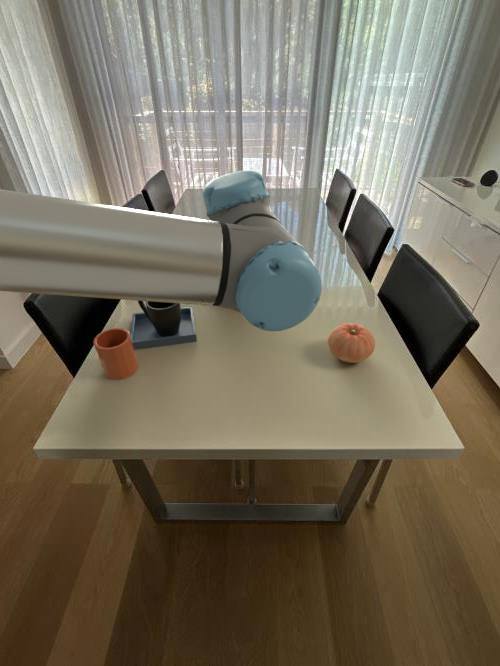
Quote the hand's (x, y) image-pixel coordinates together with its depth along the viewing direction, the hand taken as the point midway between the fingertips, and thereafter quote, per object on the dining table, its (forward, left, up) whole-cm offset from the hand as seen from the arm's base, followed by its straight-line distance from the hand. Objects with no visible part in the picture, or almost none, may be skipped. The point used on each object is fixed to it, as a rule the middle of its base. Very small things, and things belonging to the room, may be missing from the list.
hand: (140, 256), depth 67 cm
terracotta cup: (-9, -3, -26) cm, 28 cm away
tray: (+1, +10, -26) cm, 28 cm away
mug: (0, +10, -26) cm, 28 cm away
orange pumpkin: (+45, -10, -26) cm, 53 cm away
